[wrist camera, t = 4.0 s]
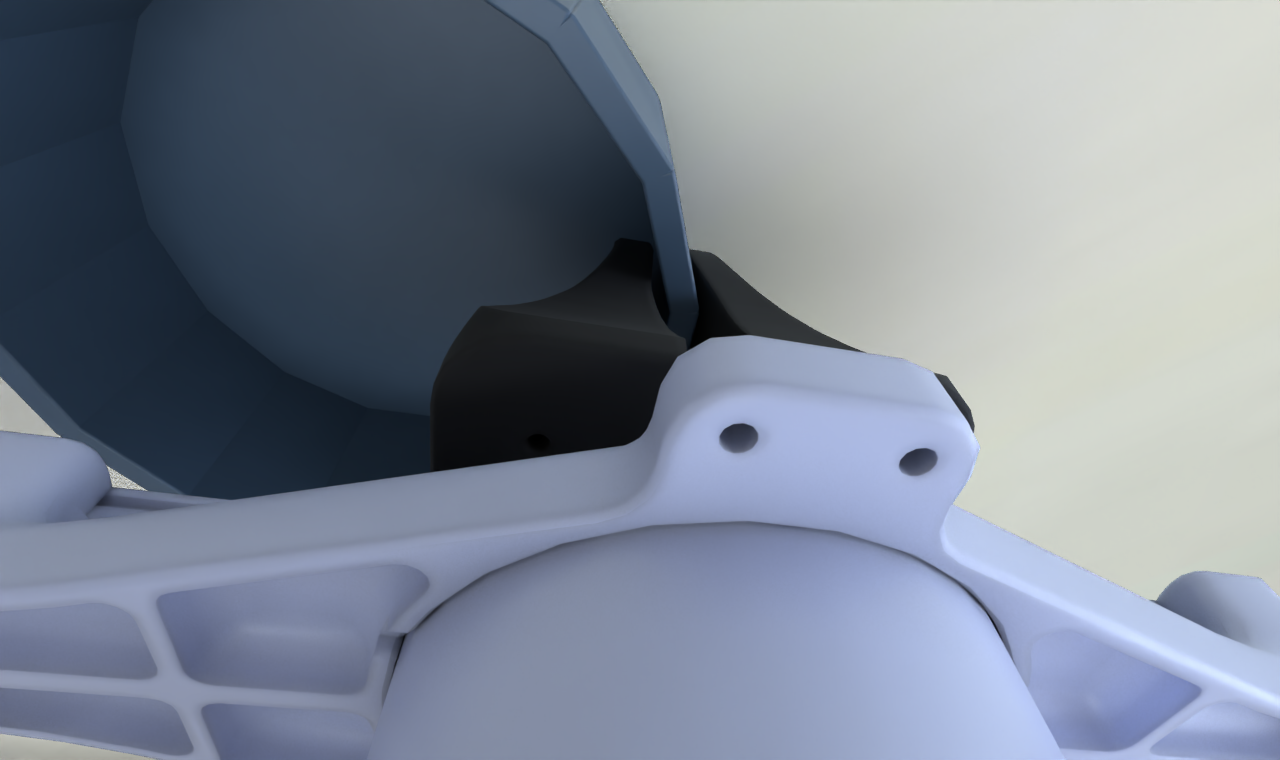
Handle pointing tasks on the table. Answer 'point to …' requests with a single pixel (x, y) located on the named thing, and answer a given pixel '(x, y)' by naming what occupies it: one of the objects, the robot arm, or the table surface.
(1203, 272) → the table surface
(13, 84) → the tub
